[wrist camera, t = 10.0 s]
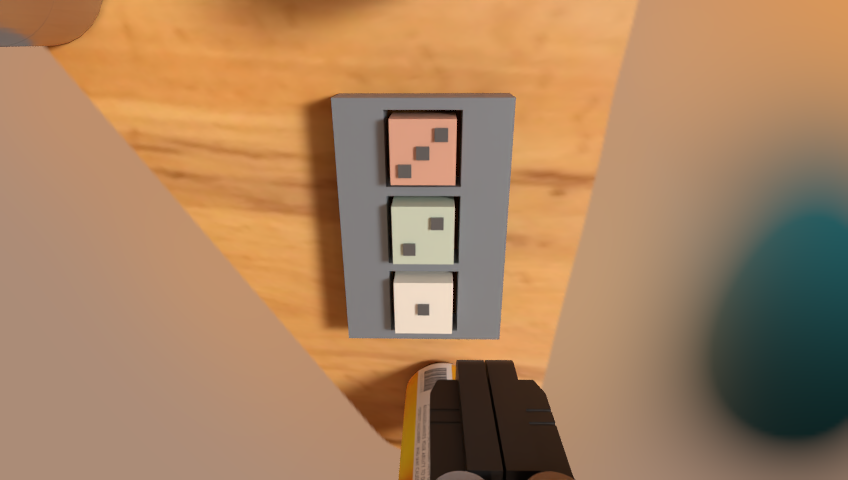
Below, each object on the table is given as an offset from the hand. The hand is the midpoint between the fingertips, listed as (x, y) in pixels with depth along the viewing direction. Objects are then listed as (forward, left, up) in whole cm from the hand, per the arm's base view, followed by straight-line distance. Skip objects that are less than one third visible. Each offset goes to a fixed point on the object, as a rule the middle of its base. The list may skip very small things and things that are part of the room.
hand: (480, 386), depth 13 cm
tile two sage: (-2, -3, -21) cm, 21 cm away
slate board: (-2, -3, -22) cm, 22 cm away
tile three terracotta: (-2, +2, -21) cm, 21 cm away
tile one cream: (-2, -8, -21) cm, 23 cm away
